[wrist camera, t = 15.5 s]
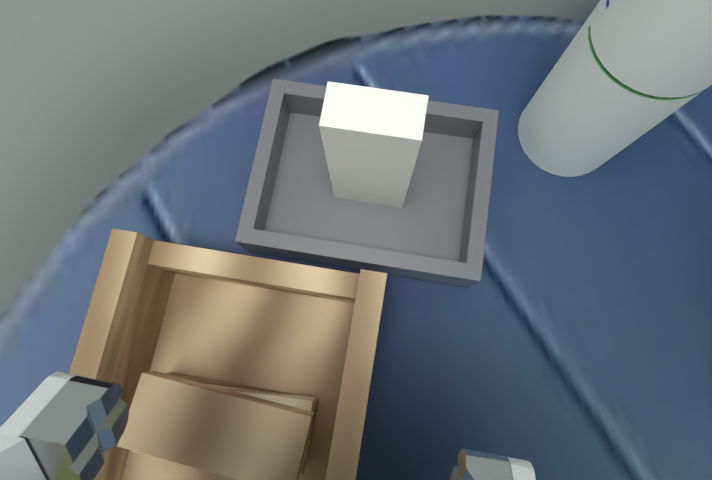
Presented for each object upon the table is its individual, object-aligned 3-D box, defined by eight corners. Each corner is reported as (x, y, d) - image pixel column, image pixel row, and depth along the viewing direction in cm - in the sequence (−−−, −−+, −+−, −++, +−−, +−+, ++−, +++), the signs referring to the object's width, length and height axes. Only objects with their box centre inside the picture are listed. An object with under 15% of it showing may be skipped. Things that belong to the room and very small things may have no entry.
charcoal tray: (485, 133, 33) (498, 110, 30) (467, 287, 31) (480, 281, 27) (282, 104, 34) (272, 78, 31) (249, 251, 32) (234, 241, 28)
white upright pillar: (407, 176, 32) (428, 95, 21) (402, 207, 31) (421, 140, 21) (339, 166, 32) (327, 81, 21) (334, 197, 32) (318, 125, 21)
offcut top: (314, 412, 25) (311, 417, 24) (296, 485, 25) (292, 494, 23) (154, 370, 26) (141, 372, 25) (131, 440, 25) (117, 446, 24)
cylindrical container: (621, 107, 34) (1297, -500, 9) (600, 189, 32) (1334, -272, 8) (531, 79, 34) (941, -554, 10) (506, 159, 33) (915, -352, 8)
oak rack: (382, 287, 31) (387, 273, 24) (343, 536, 28) (336, 601, 21) (166, 251, 32) (112, 228, 25) (103, 488, 28) (20, 536, 22)
